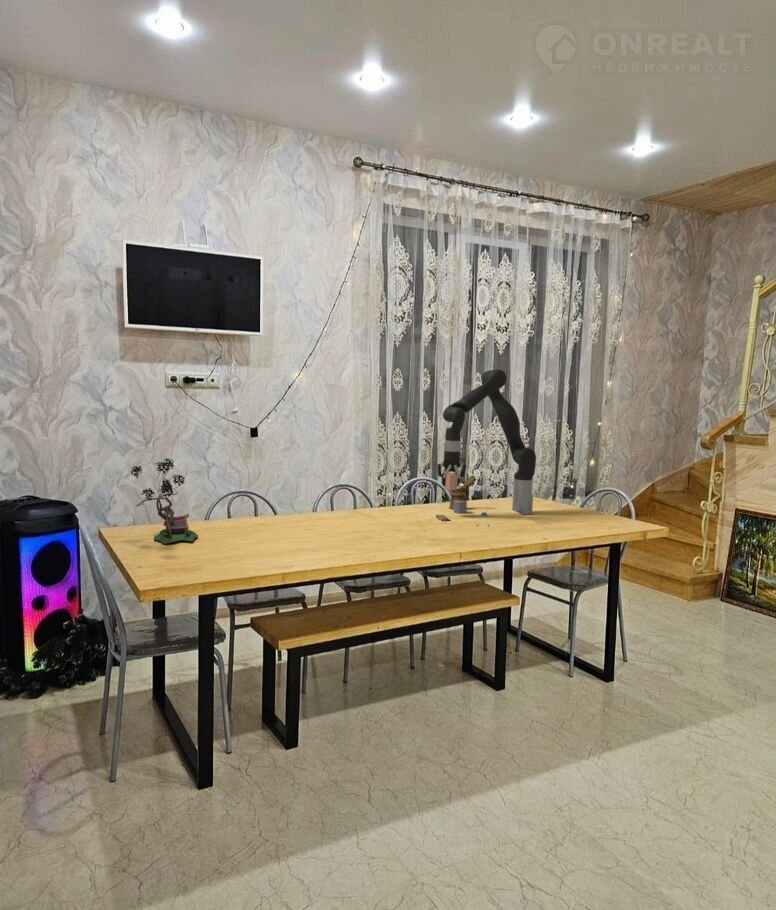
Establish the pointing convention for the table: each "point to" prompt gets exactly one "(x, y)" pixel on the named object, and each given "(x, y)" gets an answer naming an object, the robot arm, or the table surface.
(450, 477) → the terracotta cup
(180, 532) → the bonsai tree
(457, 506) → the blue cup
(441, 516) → the walnut coaster
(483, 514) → the blue marble
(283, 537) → the table surface
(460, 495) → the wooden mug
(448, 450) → the robot arm
